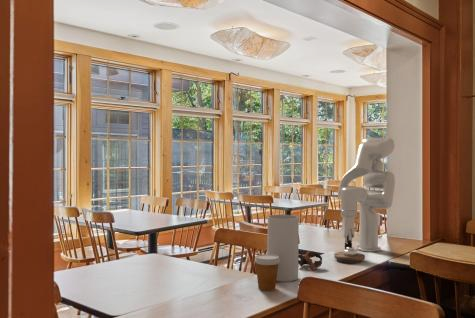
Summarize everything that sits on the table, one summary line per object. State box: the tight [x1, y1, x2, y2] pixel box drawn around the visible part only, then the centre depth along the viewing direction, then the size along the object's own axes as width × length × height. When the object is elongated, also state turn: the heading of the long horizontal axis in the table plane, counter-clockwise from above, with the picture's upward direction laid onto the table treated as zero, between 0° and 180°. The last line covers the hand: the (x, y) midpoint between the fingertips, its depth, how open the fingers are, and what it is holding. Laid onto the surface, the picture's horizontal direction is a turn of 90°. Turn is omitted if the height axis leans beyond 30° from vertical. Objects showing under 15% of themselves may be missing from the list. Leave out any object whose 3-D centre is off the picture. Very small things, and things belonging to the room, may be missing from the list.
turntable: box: [334, 251, 366, 264], centre depth 219 cm, size 14×14×3 cm
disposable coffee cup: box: [253, 253, 280, 292], centre depth 173 cm, size 10×10×12 cm
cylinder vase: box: [266, 214, 300, 283], centre depth 187 cm, size 12×12×25 cm
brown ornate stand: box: [298, 250, 323, 271], centre depth 205 cm, size 12×10×8 cm
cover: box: [343, 246, 358, 257], centre depth 218 cm, size 6×6×4 cm
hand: (348, 251), depth 223 cm, fingers closed
